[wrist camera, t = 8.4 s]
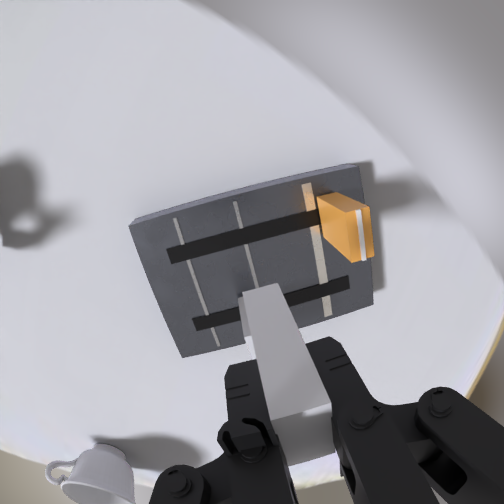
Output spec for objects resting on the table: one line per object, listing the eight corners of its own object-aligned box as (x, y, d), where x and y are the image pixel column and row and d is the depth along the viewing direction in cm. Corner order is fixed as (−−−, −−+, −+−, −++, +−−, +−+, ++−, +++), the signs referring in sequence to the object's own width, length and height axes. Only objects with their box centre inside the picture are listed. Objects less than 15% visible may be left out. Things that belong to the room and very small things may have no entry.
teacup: (58, 413, 34) (39, 463, 24) (151, 447, 37) (145, 502, 28) (59, 448, 37) (45, 491, 28) (137, 477, 41) (132, 522, 31)
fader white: (237, 298, 27) (244, 338, 21) (257, 292, 27) (269, 332, 21) (247, 330, 28) (256, 374, 22) (266, 325, 28) (278, 368, 23)
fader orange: (316, 196, 25) (346, 213, 19) (336, 191, 25) (370, 207, 19) (323, 237, 26) (353, 264, 20) (342, 232, 26) (375, 257, 20)
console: (135, 218, 26) (128, 226, 24) (347, 163, 27) (359, 166, 25) (183, 343, 31) (182, 358, 29) (363, 293, 32) (374, 304, 30)
